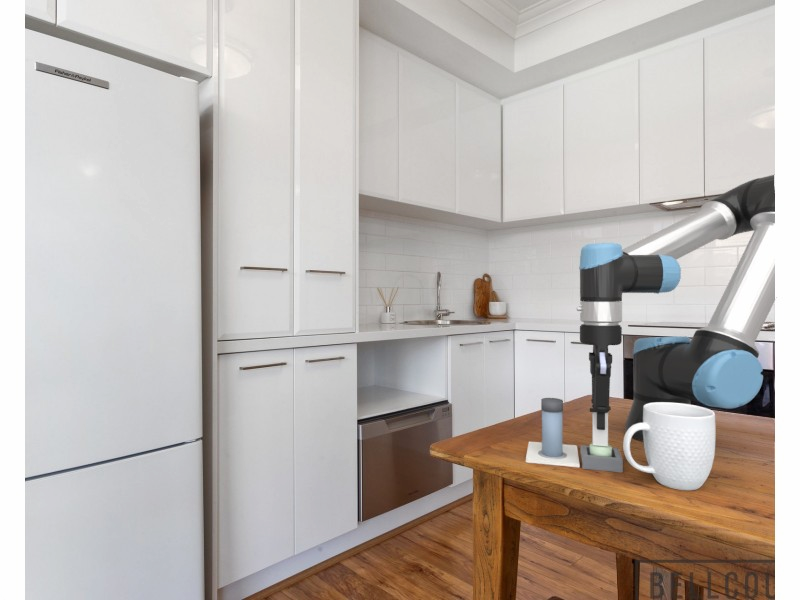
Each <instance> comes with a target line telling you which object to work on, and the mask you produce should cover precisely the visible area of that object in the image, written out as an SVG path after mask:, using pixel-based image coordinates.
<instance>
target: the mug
mask: <svg viewBox="0 0 800 600" xmlns="http://www.w3.org/2000/svg"><path fill="white" fill-rule="evenodd" d="M716 428H717V427H716V414H715V412H714V410H711V409H709V408H707V407H703V406H699V405H694V404H691V405H690V404H682V403H670V402H655V403H648V404H645V405H644V407H643V423H637V424H634V425H633V426H631V427H630V428H629V429H628V430H627V432H625V434H624V436H623V439H622V440H623V441H622V442H623V443H622V447H623V448H622V449H623V453H624V456H625V459H626V460H627V462H628V463H629V464H630V466H632V467H633V468H635V469H636V470H638V471H641V472H643V473H648V474H651V475H653V477H654V479H655V481H657V482H658V483H659V484H660V485H662V486H664V487H667V488H669V489H672V490H673V489H675V490H679V491H696V490H698V489H700V488H701V487H702V486H703V485H704V483H705V482H706V481H707V479H708V477H709V475H710V473H711V470H712V468H713V464H714V461H715V460H714V459H715V454H716V431H717V430H716ZM639 430H643V439H644V440H643V441H642V442H643V447H644V452H645V454H644V455H645V457H646V461H647V464H648V465H641V464H640V463H637V462H636V461H635V460H634V458H633V456H632V453H631V440H632V436H633V434H634V433H635V432H637V431H639Z"/></svg>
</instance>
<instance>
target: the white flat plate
mask: <svg viewBox="0 0 800 600" xmlns="http://www.w3.org/2000/svg"><path fill="white" fill-rule="evenodd" d="M526 450H527V451H526V456H525V463H529V464H539V465H550V466H561V467H570V468H571V467H572V468H580V466H581V465H580V459H579V452H578V451H579V450H578V445H577V444H576V445H575V444H565V443H563V455H562V456H561V457H548V456H545V455H543V454H542V441H541V442H539V441H530V440H529V441H528V445H527V449H526Z"/></svg>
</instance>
